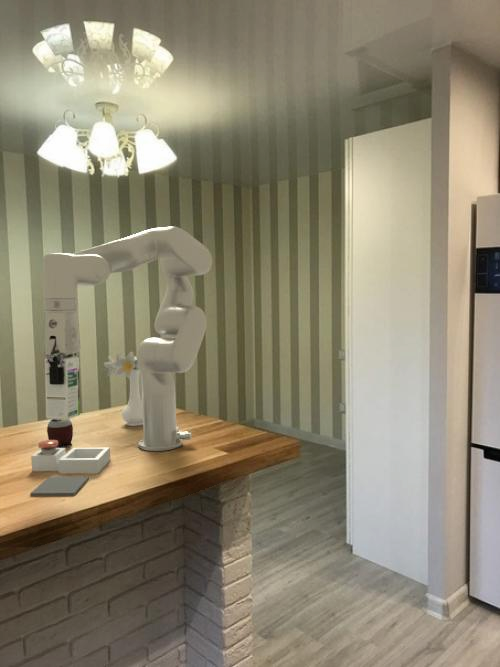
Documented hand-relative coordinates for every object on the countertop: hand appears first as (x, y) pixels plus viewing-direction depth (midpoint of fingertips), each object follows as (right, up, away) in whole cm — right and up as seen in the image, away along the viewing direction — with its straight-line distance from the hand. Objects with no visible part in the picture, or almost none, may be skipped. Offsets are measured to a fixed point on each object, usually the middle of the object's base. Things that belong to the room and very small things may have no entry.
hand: (63, 381), depth 125 cm
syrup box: (0, -9, +1) cm, 9 cm away
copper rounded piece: (-8, -23, +12) cm, 27 cm away
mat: (0, -25, -2) cm, 25 cm away
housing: (-2, -23, +12) cm, 26 cm away
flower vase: (+5, -20, +53) cm, 57 cm away
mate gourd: (-12, -22, +30) cm, 39 cm away
